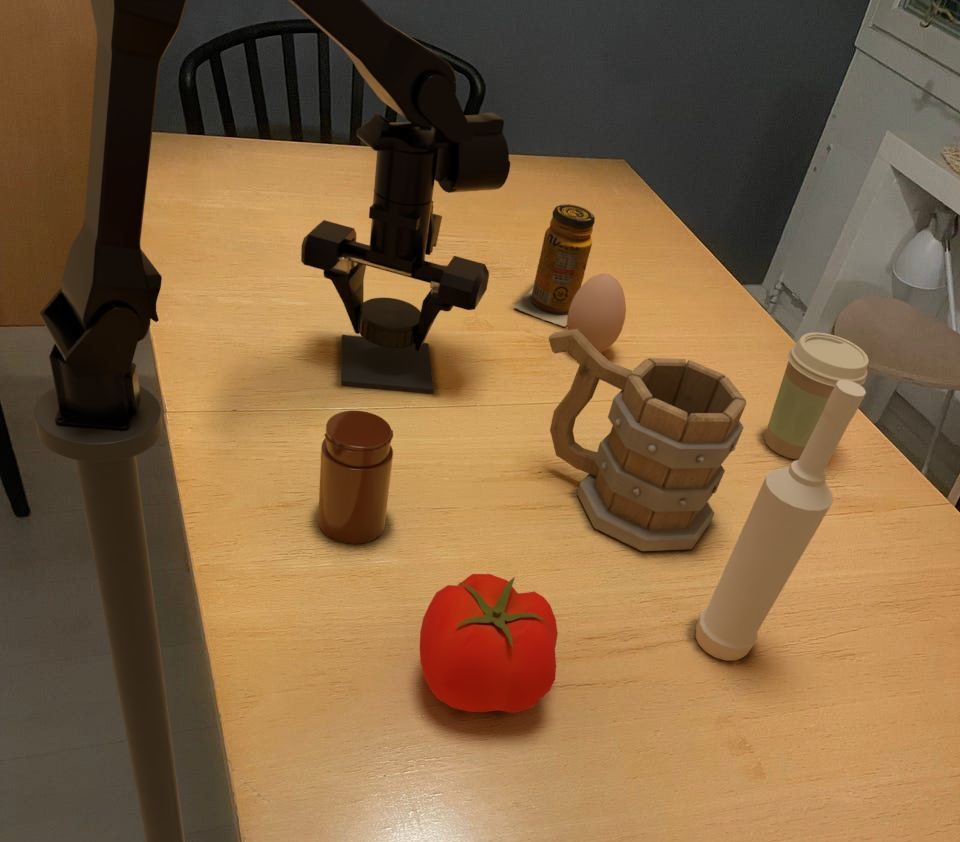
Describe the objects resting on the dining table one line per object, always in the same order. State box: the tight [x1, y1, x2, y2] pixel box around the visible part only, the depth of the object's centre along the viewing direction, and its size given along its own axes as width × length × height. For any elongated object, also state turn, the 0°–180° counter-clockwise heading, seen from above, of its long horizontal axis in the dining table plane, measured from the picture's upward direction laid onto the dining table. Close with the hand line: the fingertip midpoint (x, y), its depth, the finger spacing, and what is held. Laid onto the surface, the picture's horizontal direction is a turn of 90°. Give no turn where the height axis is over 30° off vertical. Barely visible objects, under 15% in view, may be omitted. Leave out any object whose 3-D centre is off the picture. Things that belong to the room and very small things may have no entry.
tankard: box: [547, 329, 747, 552], centre depth 86 cm, size 20×13×15 cm, turn 59°
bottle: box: [695, 380, 867, 662], centre depth 70 cm, size 5×5×25 cm
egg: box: [566, 273, 627, 353], centre depth 108 cm, size 7×7×10 cm
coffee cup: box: [764, 332, 869, 460], centre depth 100 cm, size 8×8×12 cm
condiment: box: [512, 203, 596, 328], centre depth 115 cm, size 7×8×12 cm
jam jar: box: [317, 410, 394, 545], centre depth 78 cm, size 6×6×10 cm
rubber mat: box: [340, 334, 435, 395], centre depth 101 cm, size 10×10×1 cm
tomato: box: [419, 573, 559, 713], centre depth 68 cm, size 11×11×9 cm
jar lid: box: [358, 297, 421, 348], centre depth 98 cm, size 7×7×2 cm
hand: (388, 340), depth 99 cm, fingers closed on jar lid, 6 cm apart
